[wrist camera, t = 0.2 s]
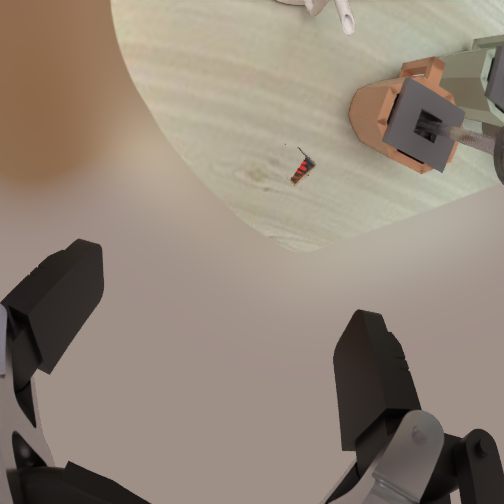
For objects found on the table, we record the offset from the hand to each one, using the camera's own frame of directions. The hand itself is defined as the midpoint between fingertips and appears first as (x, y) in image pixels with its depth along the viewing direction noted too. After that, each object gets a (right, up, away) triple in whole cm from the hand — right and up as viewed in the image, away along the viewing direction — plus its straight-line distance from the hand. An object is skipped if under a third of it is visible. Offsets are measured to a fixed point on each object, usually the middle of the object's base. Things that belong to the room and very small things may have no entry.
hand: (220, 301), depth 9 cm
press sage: (+27, +24, +18) cm, 40 cm away
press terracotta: (+17, +19, +22) cm, 33 cm away
